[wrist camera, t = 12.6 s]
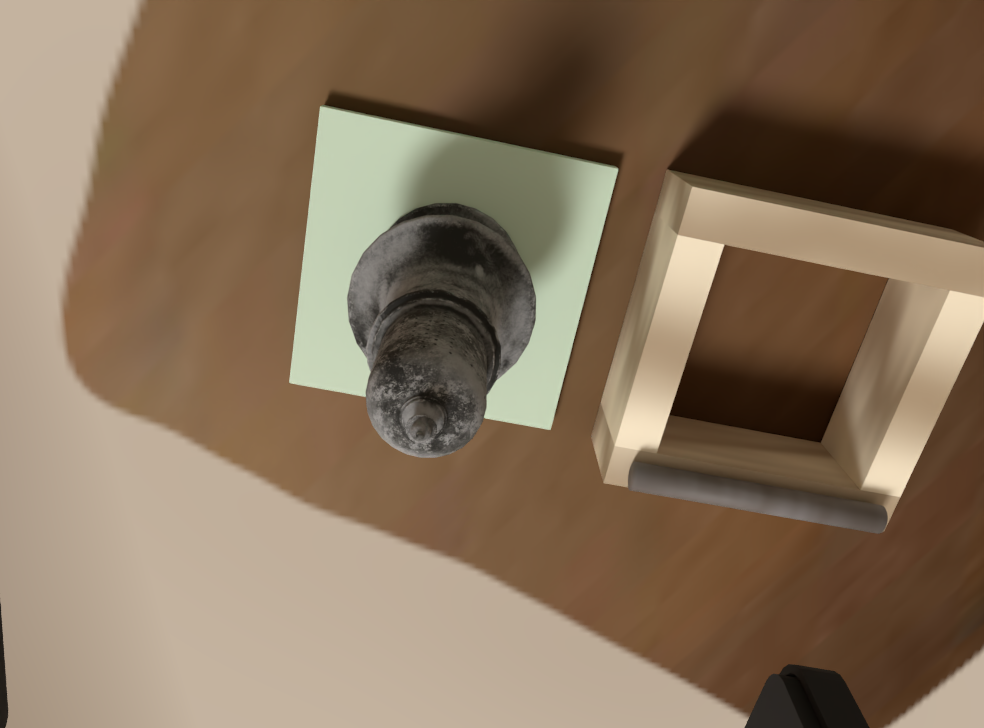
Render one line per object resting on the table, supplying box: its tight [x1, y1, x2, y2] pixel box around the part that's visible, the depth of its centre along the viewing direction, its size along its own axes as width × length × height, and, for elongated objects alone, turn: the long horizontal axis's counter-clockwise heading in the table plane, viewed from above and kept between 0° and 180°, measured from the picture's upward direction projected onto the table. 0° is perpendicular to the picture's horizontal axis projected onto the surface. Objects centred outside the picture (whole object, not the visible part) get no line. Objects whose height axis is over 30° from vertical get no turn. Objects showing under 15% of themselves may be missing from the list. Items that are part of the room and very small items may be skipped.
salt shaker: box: [347, 203, 536, 458], centre depth 22 cm, size 6×6×12 cm
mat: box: [289, 105, 618, 430], centre depth 27 cm, size 10×10×1 cm
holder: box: [591, 169, 984, 534], centre depth 27 cm, size 10×10×4 cm
